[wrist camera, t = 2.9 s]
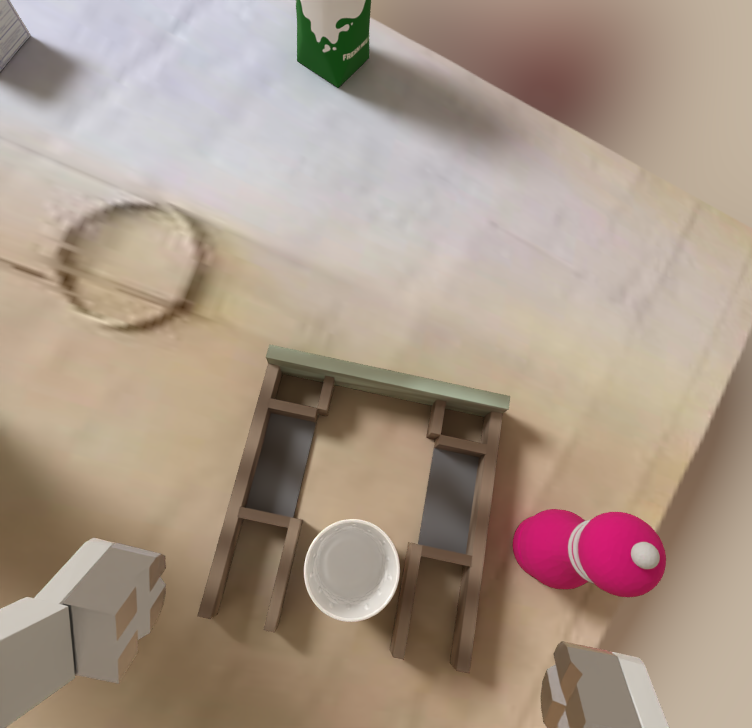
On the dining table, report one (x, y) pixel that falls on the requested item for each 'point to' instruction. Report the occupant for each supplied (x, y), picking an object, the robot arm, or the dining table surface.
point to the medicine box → (10, 32)
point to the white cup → (351, 570)
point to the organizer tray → (443, 498)
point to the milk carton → (333, 37)
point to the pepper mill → (591, 551)
